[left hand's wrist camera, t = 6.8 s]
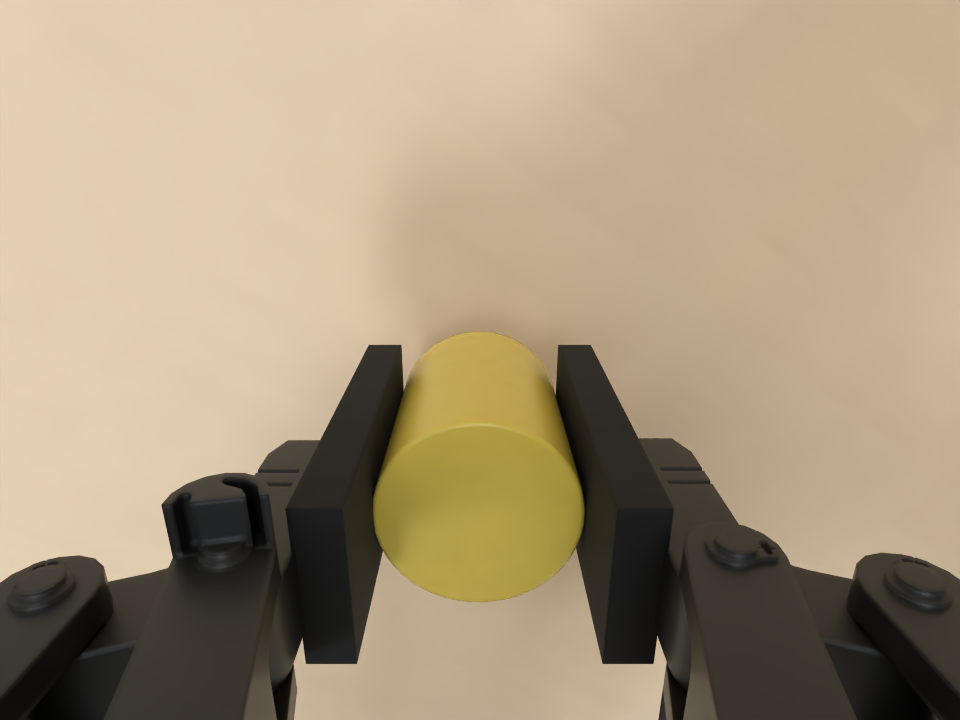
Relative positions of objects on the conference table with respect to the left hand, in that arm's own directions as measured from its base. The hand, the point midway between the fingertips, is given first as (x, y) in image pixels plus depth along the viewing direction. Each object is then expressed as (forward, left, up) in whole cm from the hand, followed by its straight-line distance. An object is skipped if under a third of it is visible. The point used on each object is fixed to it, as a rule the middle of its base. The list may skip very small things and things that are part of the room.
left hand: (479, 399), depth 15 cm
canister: (0, 0, 0) cm, 0 cm away
